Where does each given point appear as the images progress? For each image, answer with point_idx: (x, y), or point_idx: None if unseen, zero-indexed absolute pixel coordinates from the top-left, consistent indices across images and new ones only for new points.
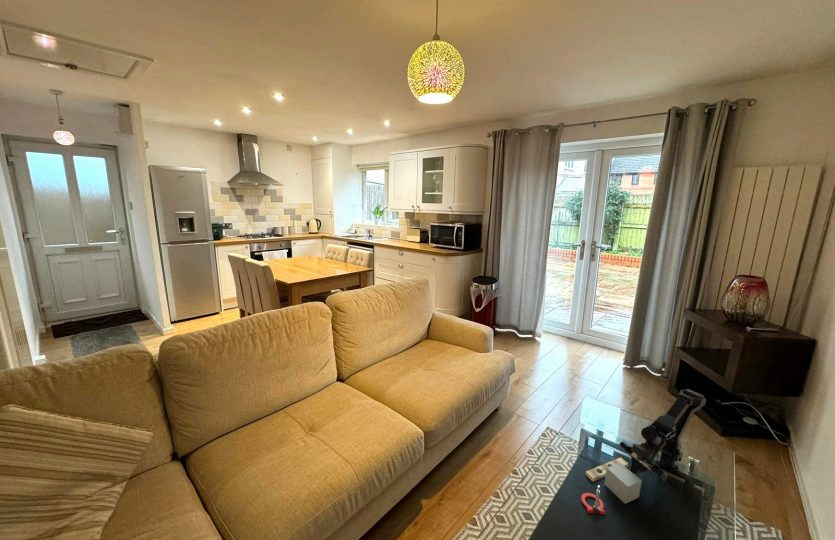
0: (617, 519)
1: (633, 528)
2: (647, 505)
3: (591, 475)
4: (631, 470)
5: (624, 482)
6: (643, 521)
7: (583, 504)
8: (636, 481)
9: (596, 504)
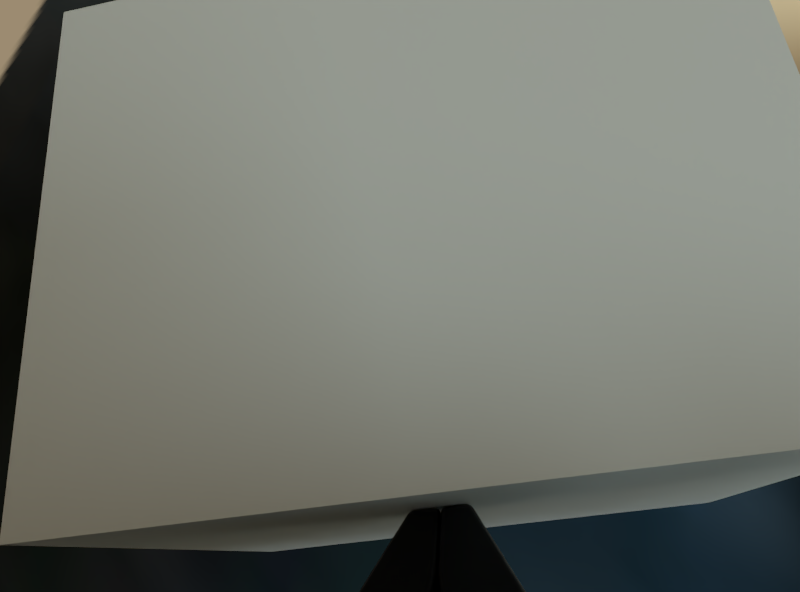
0: None
1: (17, 118)
2: (119, 560)
3: (784, 8)
4: (469, 590)
5: (177, 10)
6: (8, 286)
7: None
8: (56, 334)
9: None
